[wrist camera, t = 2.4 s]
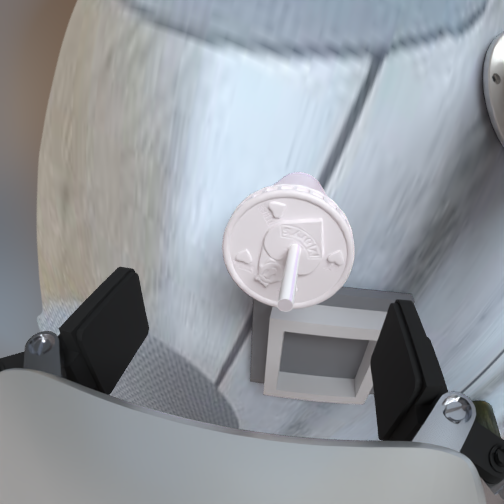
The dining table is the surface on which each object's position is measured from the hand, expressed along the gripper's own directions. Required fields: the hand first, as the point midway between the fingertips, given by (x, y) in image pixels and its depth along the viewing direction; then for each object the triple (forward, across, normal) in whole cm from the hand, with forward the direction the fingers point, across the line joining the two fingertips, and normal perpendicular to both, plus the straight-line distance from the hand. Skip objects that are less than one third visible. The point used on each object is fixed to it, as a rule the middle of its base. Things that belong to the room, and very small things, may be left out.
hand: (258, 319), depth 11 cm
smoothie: (+14, -1, 0) cm, 14 cm away
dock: (+14, -5, +14) cm, 20 cm away
